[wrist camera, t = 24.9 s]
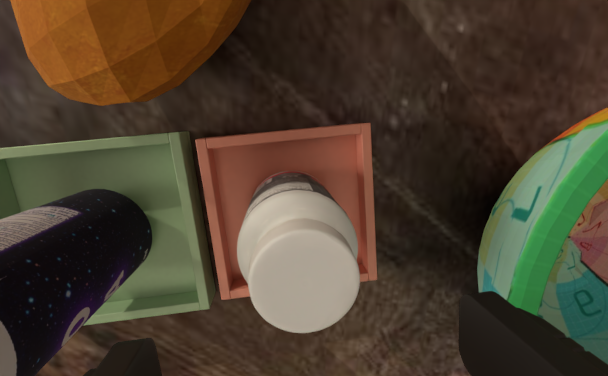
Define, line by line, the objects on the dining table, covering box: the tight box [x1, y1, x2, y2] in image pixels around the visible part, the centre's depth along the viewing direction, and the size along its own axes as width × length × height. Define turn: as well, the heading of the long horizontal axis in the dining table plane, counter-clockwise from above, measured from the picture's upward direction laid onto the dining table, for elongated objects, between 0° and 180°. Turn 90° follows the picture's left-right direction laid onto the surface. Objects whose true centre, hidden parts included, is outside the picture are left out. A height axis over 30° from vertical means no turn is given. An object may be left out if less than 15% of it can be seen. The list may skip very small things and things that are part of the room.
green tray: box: [0, 131, 216, 325], centre depth 19 cm, size 11×11×2 cm
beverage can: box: [0, 189, 152, 376], centre depth 13 cm, size 6×6×12 cm
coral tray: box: [195, 123, 377, 300], centre depth 20 cm, size 10×10×2 cm
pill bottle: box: [237, 171, 360, 333], centre depth 15 cm, size 5×5×10 cm
